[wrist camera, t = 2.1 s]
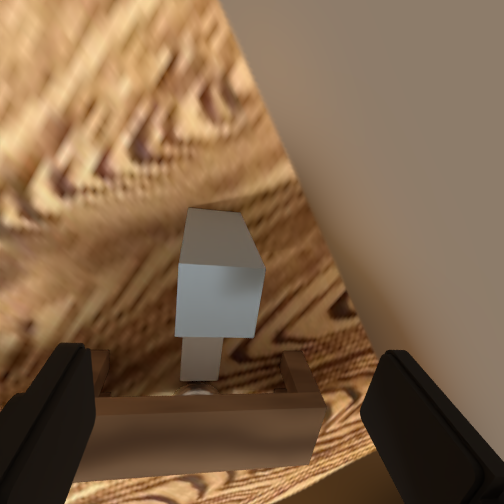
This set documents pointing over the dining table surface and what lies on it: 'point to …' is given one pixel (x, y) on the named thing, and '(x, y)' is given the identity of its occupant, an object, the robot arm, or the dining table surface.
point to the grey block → (215, 289)
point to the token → (196, 390)
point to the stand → (202, 428)
